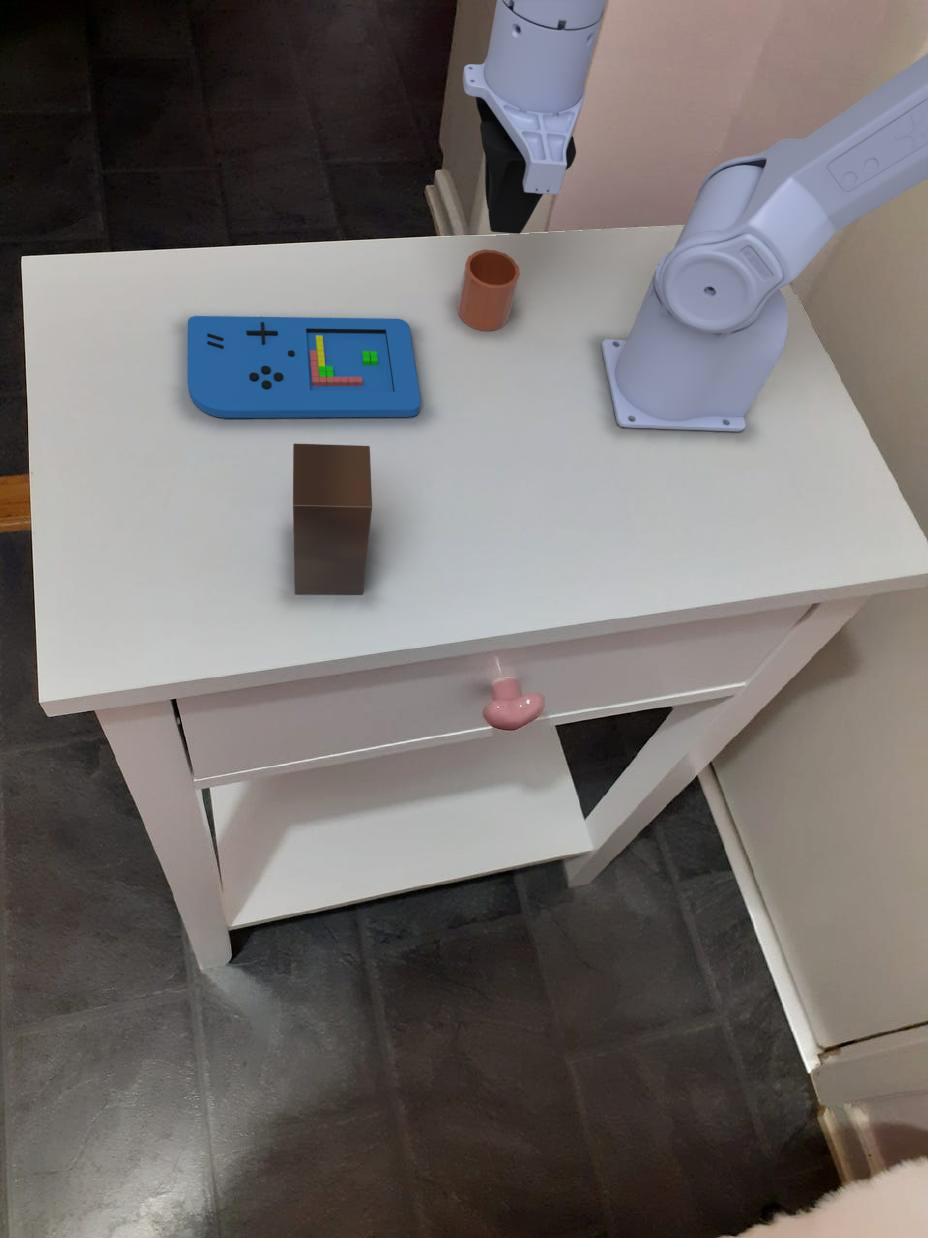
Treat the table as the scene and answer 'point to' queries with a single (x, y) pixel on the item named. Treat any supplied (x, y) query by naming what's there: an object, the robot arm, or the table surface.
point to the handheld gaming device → (301, 367)
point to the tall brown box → (331, 518)
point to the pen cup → (488, 289)
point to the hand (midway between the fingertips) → (503, 217)
